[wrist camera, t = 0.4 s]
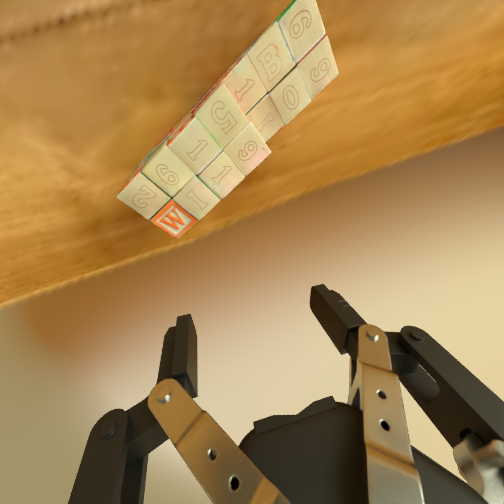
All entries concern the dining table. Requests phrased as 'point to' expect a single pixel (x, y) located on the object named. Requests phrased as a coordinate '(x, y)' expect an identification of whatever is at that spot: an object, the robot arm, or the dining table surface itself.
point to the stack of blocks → (233, 122)
